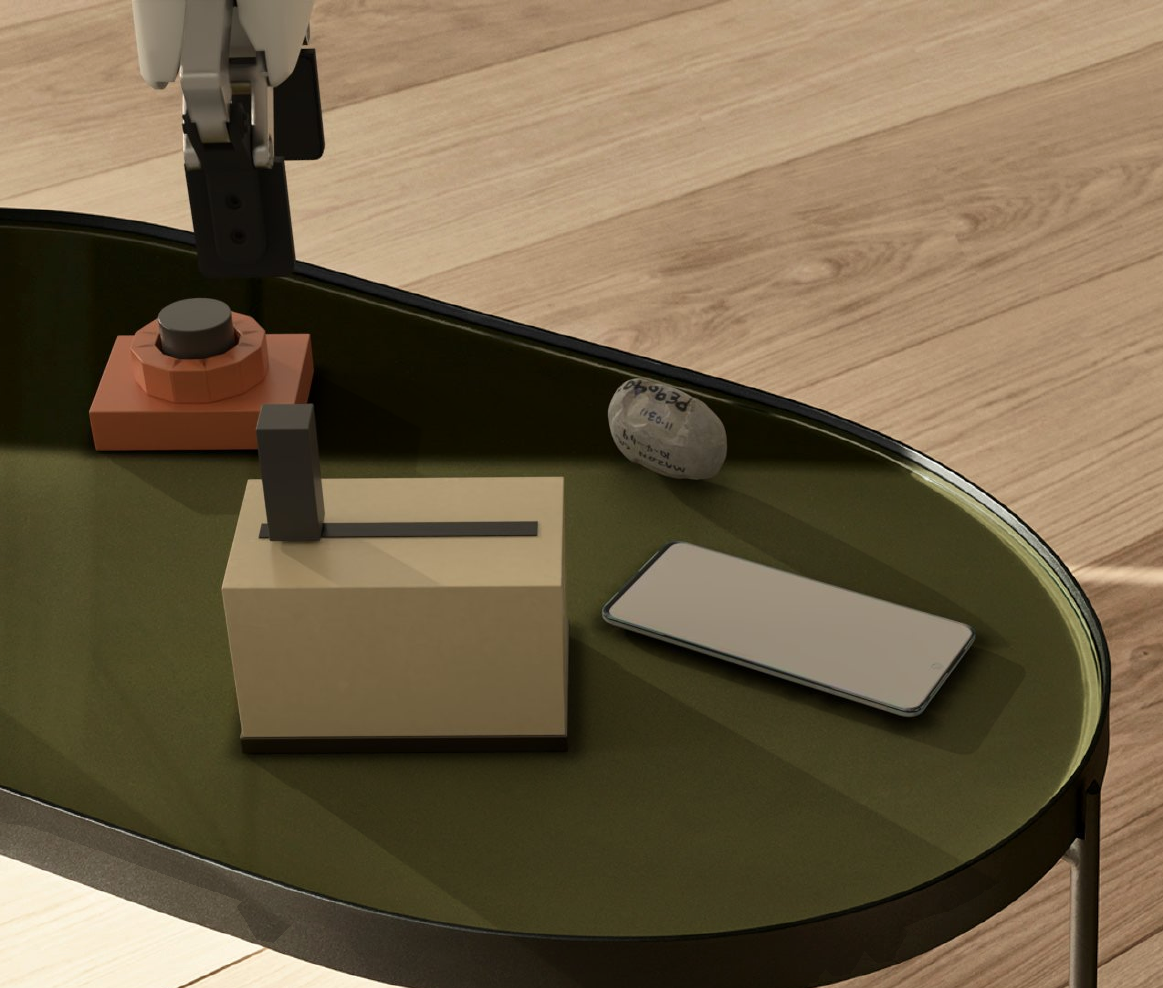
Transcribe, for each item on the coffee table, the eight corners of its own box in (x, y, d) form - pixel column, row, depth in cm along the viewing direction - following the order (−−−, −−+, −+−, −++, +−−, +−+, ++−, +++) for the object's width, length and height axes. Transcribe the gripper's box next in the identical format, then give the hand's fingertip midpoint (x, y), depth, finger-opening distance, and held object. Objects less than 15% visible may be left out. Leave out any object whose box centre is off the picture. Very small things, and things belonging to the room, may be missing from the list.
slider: (269, 541, 83) (255, 429, 79) (275, 514, 84) (261, 403, 81) (320, 541, 83) (308, 429, 79) (325, 514, 84) (313, 403, 81)
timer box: (95, 451, 104) (82, 379, 102) (123, 373, 110) (111, 303, 108) (297, 449, 104) (289, 377, 101) (314, 371, 110) (306, 301, 108)
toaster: (242, 754, 85) (217, 588, 80) (266, 636, 92) (245, 476, 87) (567, 751, 85) (564, 585, 80) (569, 634, 92) (566, 473, 86)
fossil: (740, 480, 101) (743, 387, 98) (706, 513, 99) (708, 419, 96) (624, 446, 104) (624, 354, 101) (589, 477, 102) (587, 385, 98)
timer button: (157, 363, 104) (152, 331, 102) (168, 329, 106) (163, 297, 105) (230, 363, 103) (225, 330, 102) (239, 329, 106) (235, 297, 105)
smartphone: (671, 537, 96) (980, 627, 90) (670, 547, 97) (979, 638, 91) (596, 613, 92) (917, 714, 86) (596, 623, 92) (916, 725, 86)
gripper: (127, -374, 71) (197, 121, 82) (17, -244, 57) (118, 328, 68) (350, -379, 71) (390, 117, 82) (291, -250, 57) (349, 323, 68)
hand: (266, 212), depth 75 cm, fingers open, 9 cm apart
